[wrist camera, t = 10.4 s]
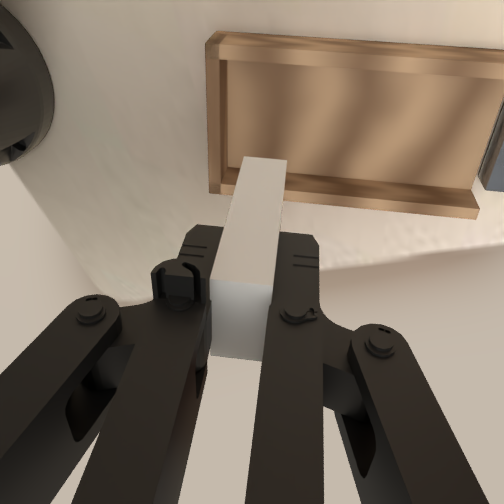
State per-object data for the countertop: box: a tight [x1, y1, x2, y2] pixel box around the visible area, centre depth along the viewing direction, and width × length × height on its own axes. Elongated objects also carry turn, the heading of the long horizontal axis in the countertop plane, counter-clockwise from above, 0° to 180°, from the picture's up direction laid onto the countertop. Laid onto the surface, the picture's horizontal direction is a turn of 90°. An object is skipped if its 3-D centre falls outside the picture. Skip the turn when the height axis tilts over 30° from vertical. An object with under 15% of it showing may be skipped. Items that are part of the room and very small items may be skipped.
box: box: [205, 31, 504, 220], centre depth 37 cm, size 22×12×4 cm, turn 88°
